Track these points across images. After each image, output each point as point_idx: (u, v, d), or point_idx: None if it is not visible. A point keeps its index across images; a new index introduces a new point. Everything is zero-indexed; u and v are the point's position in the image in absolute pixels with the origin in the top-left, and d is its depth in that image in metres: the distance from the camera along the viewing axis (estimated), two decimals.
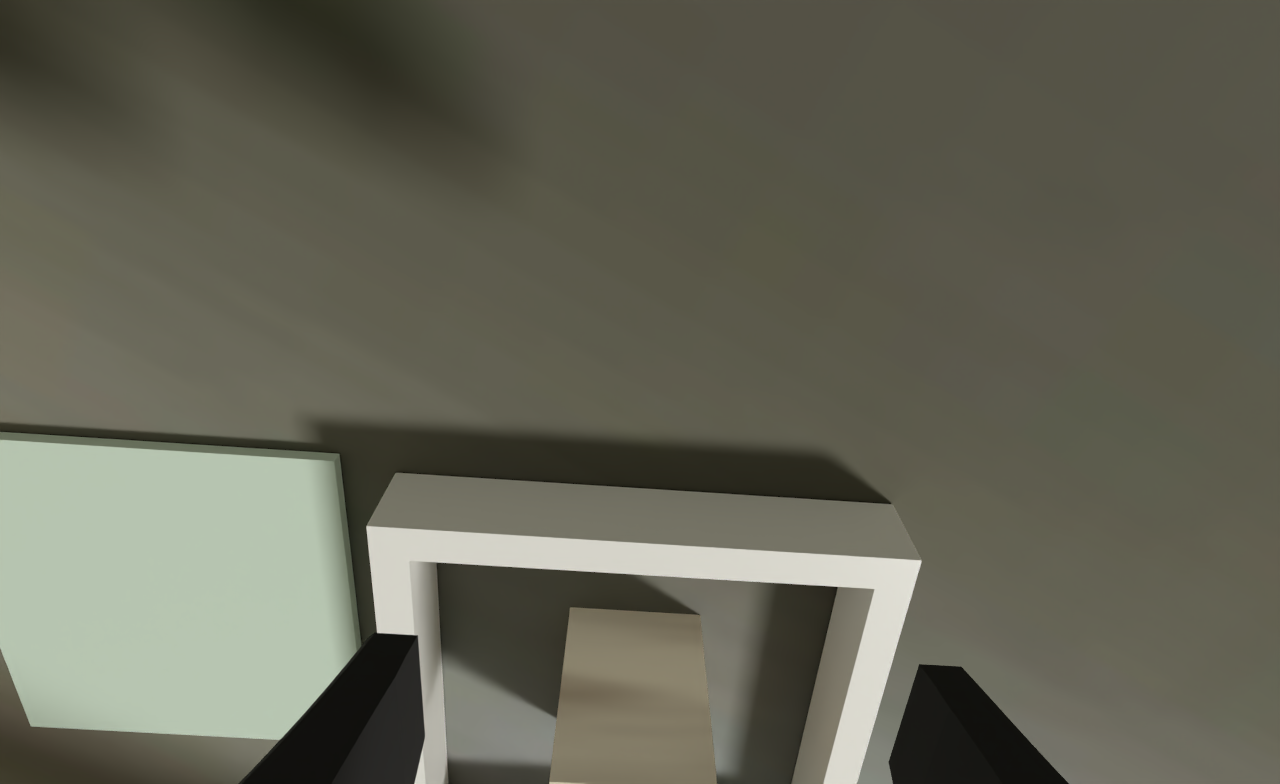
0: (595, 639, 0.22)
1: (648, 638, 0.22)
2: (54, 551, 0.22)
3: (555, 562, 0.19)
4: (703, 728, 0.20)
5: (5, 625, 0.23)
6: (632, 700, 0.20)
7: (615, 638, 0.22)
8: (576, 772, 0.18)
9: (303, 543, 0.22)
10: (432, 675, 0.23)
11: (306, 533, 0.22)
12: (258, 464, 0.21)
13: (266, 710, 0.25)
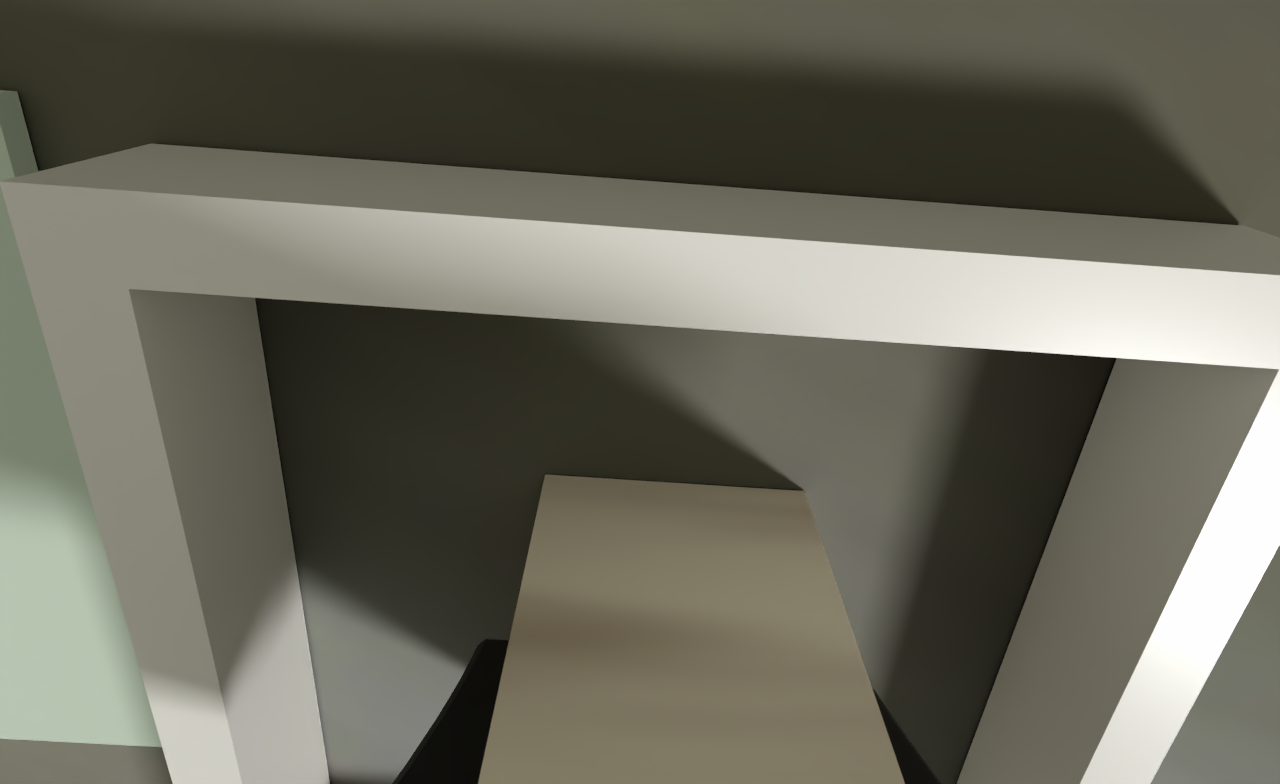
0: (595, 529, 0.10)
1: (705, 528, 0.11)
2: None
3: (496, 293, 0.08)
4: (862, 716, 0.08)
5: None
6: (682, 650, 0.09)
7: (637, 528, 0.11)
8: None
9: None
10: (265, 608, 0.11)
11: None
12: None
13: None
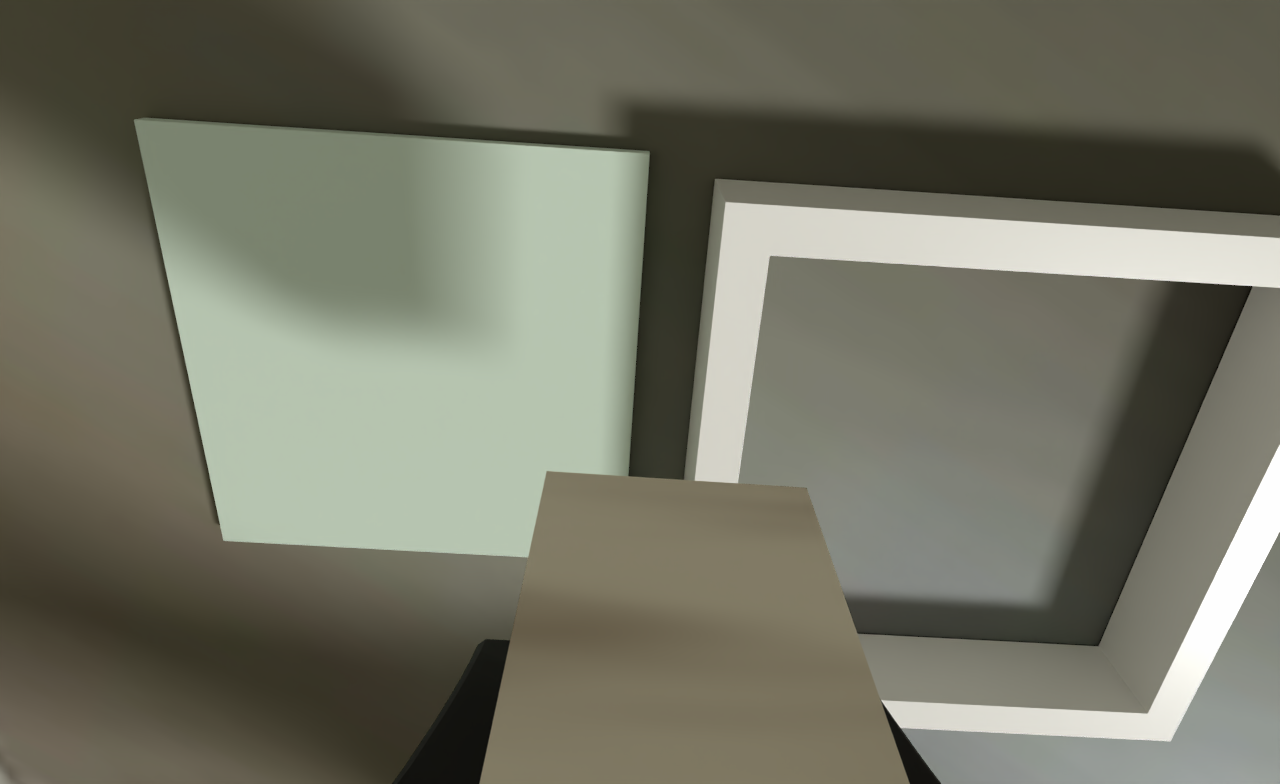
0: (597, 526, 0.10)
1: (707, 525, 0.11)
2: (283, 292, 0.18)
3: (956, 256, 0.15)
4: (864, 711, 0.08)
5: (210, 399, 0.19)
6: (685, 646, 0.09)
7: (639, 525, 0.11)
8: None
9: (592, 276, 0.18)
10: None
11: (598, 261, 0.18)
12: (554, 160, 0.17)
13: (508, 516, 0.21)
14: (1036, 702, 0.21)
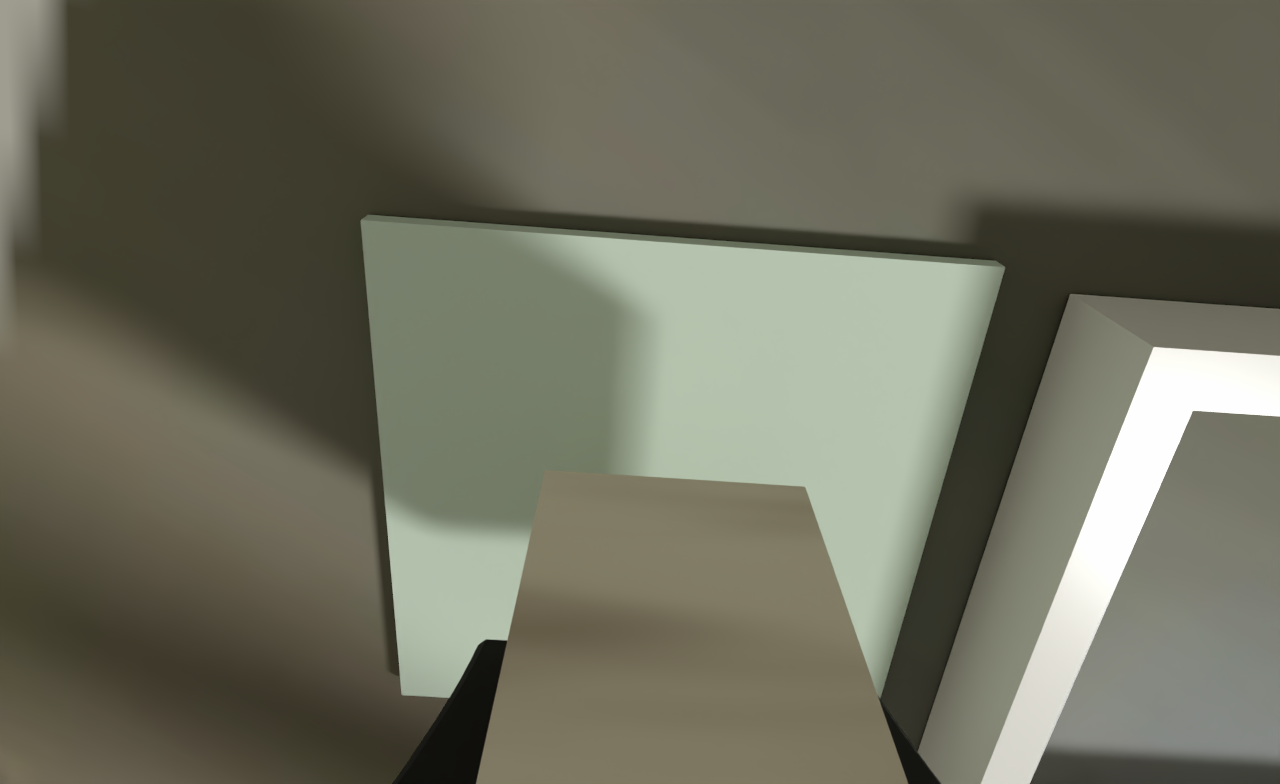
0: (595, 524, 0.10)
1: (705, 524, 0.11)
2: (517, 422, 0.14)
3: None
4: (863, 710, 0.08)
5: (409, 541, 0.16)
6: (682, 645, 0.09)
7: (637, 523, 0.11)
8: None
9: (903, 408, 0.14)
10: None
11: (913, 392, 0.14)
12: (883, 273, 0.13)
13: None
14: None
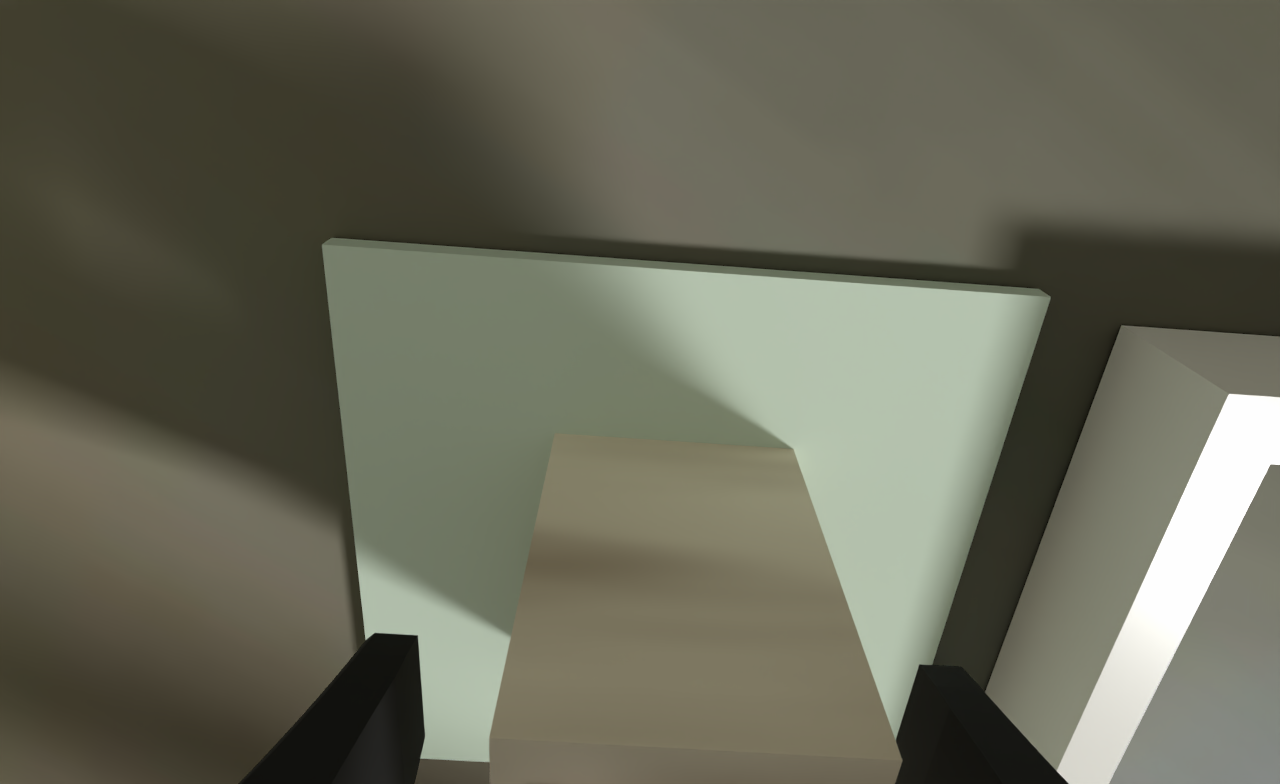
0: (601, 479, 0.12)
1: (701, 479, 0.12)
2: (502, 467, 0.13)
3: None
4: (839, 630, 0.09)
5: (384, 595, 0.14)
6: (680, 577, 0.10)
7: (640, 478, 0.12)
8: (557, 716, 0.08)
9: (932, 452, 0.13)
10: None
11: (945, 434, 0.13)
12: (913, 304, 0.12)
13: None
14: None
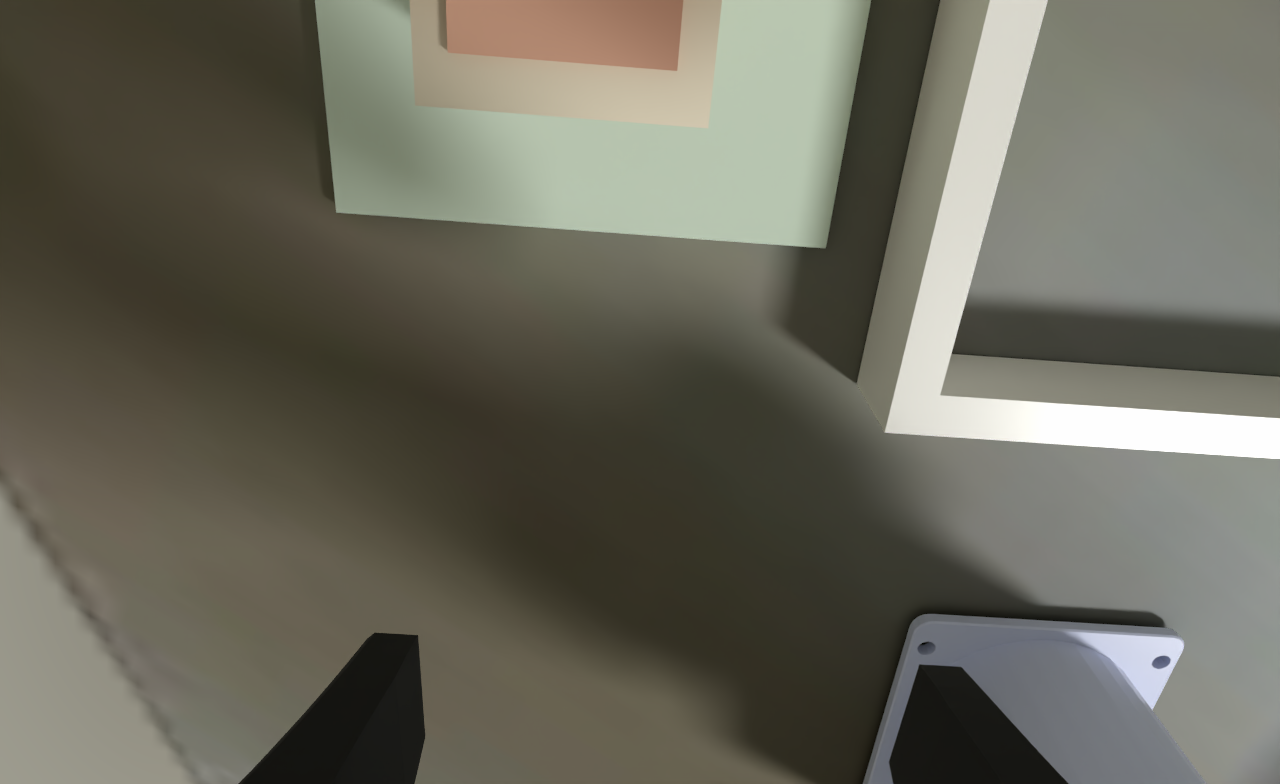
0: None
1: None
2: None
3: None
4: None
5: None
6: None
7: None
8: None
9: None
10: None
11: None
12: None
13: (692, 179, 0.17)
14: None
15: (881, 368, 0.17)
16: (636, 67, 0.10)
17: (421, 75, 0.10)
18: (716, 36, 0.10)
